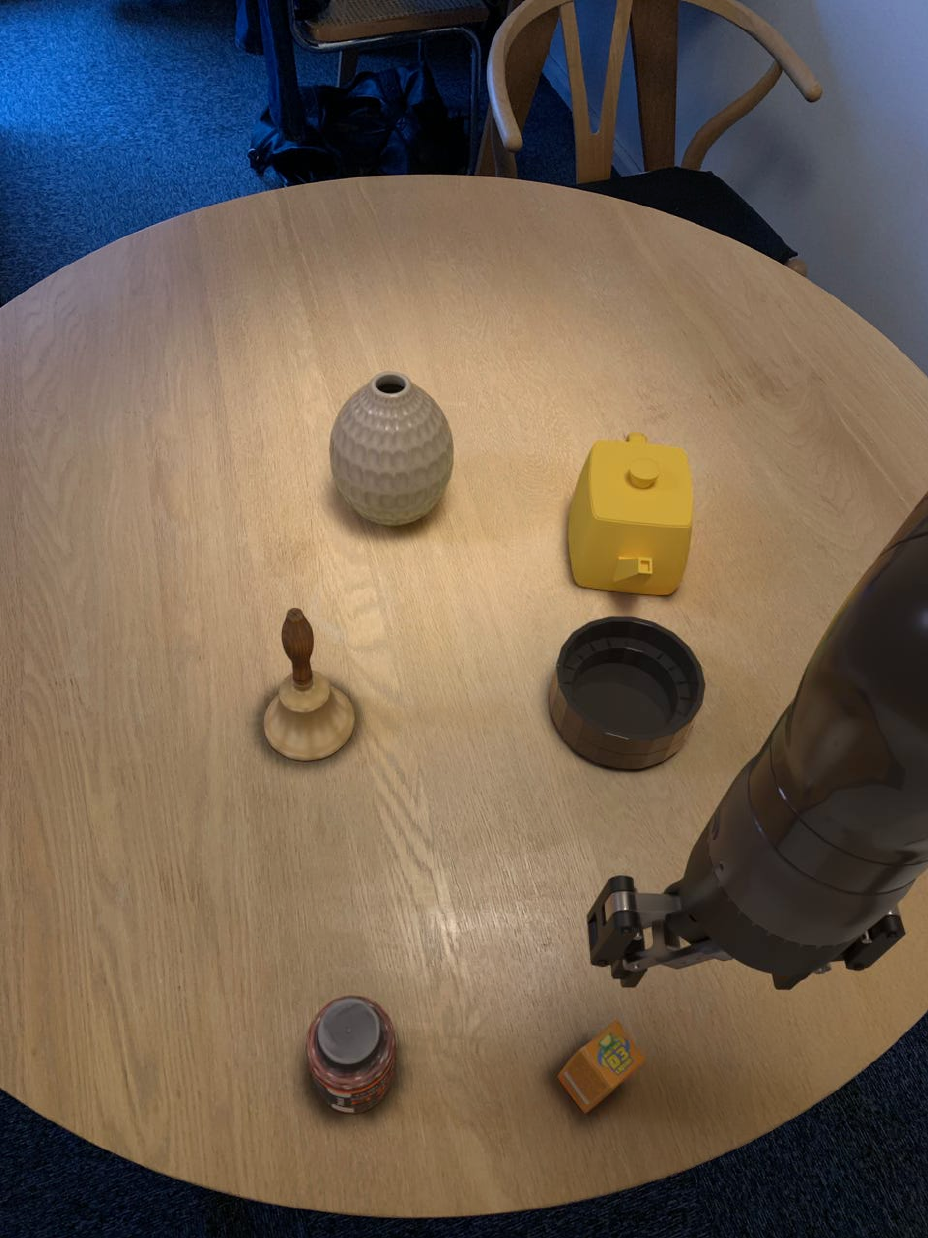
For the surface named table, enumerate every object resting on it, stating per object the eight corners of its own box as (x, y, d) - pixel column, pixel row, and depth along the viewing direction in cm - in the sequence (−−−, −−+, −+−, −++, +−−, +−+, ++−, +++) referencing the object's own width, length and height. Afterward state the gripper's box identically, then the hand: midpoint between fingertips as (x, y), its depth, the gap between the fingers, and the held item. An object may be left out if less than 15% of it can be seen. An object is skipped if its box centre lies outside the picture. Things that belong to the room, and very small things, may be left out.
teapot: (686, 634, 94) (717, 557, 84) (563, 622, 94) (580, 543, 84) (676, 492, 106) (702, 411, 96) (567, 482, 106) (582, 400, 97)
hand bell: (278, 677, 88) (256, 568, 76) (363, 691, 88) (356, 583, 75) (252, 753, 83) (224, 650, 71) (343, 768, 83) (331, 667, 70)
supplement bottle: (359, 1135, 66) (351, 1104, 57) (297, 1078, 68) (280, 1040, 59) (413, 1062, 69) (414, 1022, 60) (351, 1010, 71) (343, 963, 62)
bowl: (717, 723, 88) (735, 688, 83) (615, 799, 82) (628, 767, 77) (620, 631, 94) (632, 594, 89) (520, 697, 88) (526, 661, 83)
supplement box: (586, 1120, 67) (610, 1092, 59) (555, 1077, 68) (575, 1044, 60) (620, 1090, 68) (648, 1059, 60) (589, 1048, 70) (613, 1013, 62)
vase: (426, 453, 108) (428, 330, 94) (469, 530, 101) (478, 410, 87) (319, 480, 104) (306, 357, 91) (356, 562, 97) (347, 441, 84)
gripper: (641, 941, 36) (579, 1042, 49) (999, 946, 37) (845, 1044, 50) (621, 768, 41) (569, 902, 54) (940, 775, 41) (813, 906, 54)
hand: (702, 970), depth 52 cm, fingers open, 8 cm apart
